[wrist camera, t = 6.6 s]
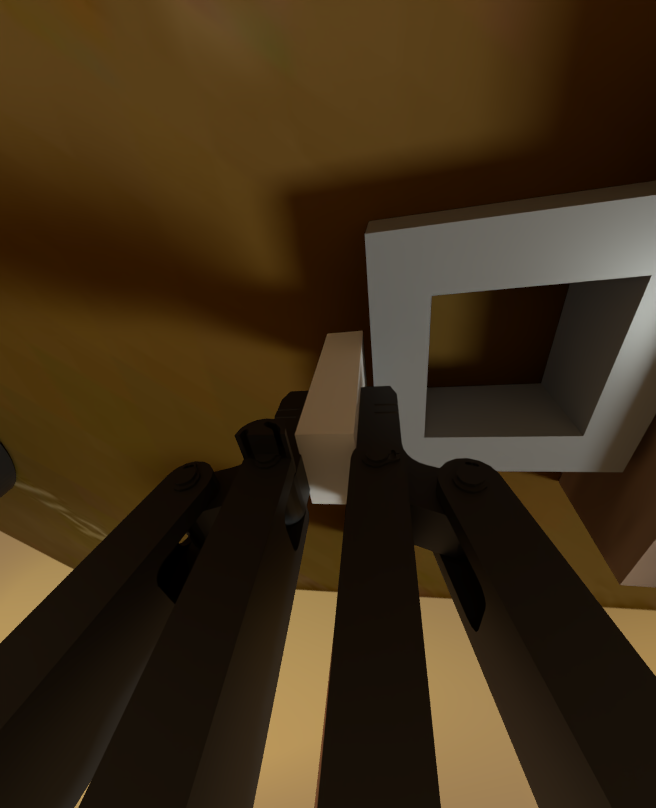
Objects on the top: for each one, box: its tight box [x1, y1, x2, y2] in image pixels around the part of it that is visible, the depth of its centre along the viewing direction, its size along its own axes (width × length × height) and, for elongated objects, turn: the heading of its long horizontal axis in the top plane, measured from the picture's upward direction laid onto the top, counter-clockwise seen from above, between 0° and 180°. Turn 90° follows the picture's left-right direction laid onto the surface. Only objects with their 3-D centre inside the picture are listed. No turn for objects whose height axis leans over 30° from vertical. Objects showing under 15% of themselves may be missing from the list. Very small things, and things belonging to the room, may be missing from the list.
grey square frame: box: [365, 181, 656, 472], centre depth 13 cm, size 10×10×4 cm
